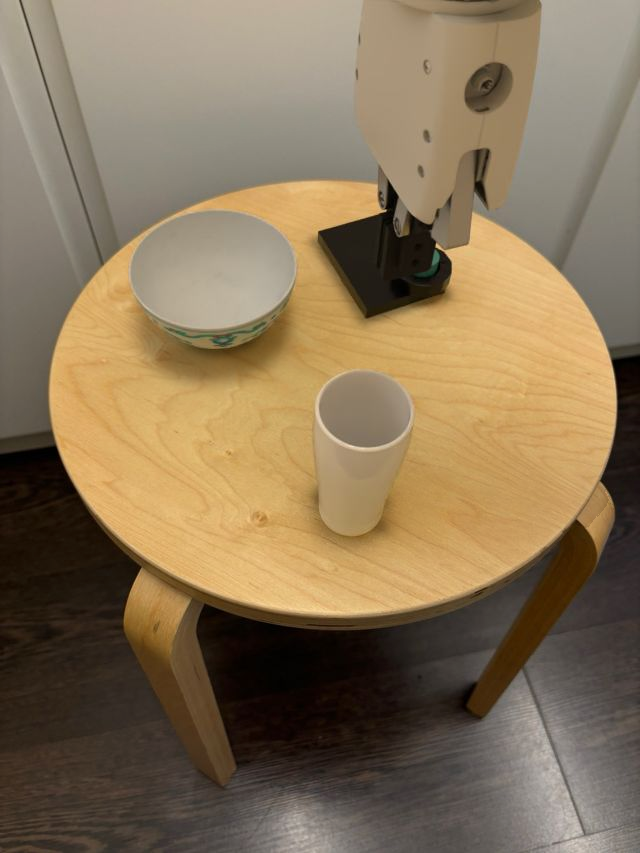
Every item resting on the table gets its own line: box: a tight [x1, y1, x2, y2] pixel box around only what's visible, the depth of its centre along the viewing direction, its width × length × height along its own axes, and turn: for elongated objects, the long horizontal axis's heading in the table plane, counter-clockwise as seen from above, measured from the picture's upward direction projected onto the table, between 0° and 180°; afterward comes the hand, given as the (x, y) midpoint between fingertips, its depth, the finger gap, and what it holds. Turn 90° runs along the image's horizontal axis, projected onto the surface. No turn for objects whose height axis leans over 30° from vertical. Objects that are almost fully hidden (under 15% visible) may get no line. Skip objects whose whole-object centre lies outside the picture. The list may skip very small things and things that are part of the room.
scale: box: [317, 213, 453, 319], centre depth 73 cm, size 10×13×3 cm
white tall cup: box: [312, 368, 416, 537], centre depth 52 cm, size 7×7×15 cm
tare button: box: [415, 250, 439, 277], centre depth 70 cm, size 3×3×2 cm
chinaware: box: [127, 208, 298, 350], centre depth 66 cm, size 15×15×8 cm
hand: (401, 267), depth 43 cm, fingers closed
